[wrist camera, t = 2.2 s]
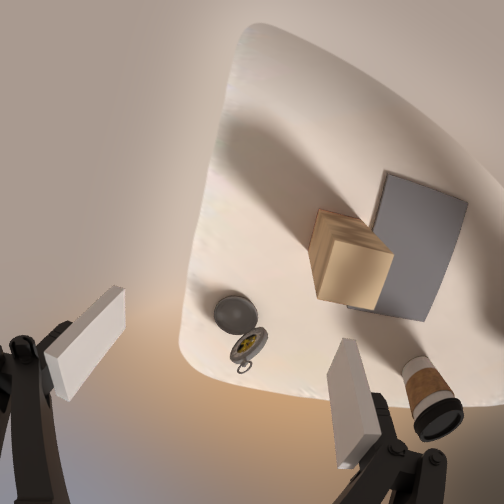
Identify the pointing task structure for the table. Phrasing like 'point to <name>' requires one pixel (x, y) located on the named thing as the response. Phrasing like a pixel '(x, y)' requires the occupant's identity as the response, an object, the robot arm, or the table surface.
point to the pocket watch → (241, 328)
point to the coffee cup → (430, 400)
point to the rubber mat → (415, 245)
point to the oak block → (347, 261)
